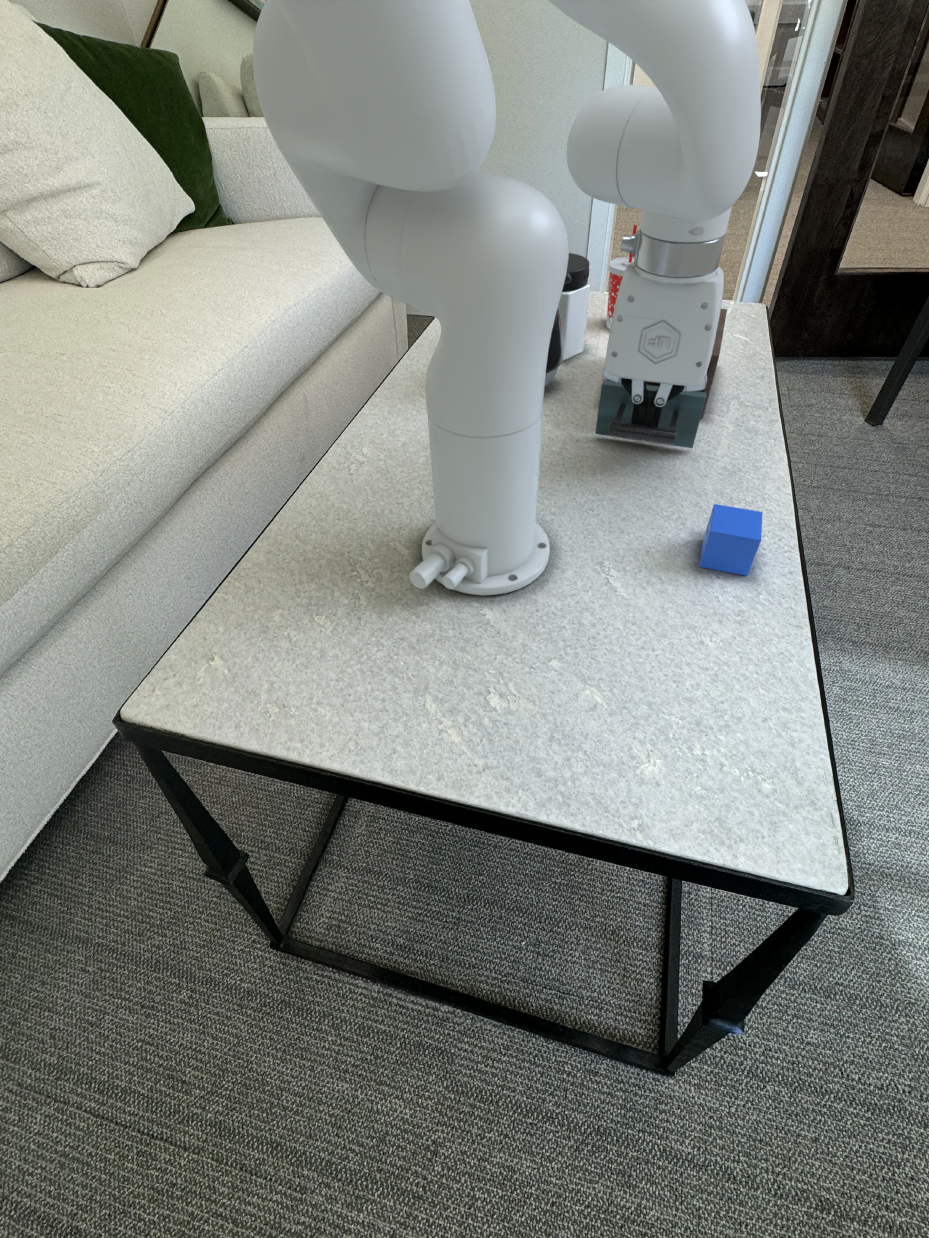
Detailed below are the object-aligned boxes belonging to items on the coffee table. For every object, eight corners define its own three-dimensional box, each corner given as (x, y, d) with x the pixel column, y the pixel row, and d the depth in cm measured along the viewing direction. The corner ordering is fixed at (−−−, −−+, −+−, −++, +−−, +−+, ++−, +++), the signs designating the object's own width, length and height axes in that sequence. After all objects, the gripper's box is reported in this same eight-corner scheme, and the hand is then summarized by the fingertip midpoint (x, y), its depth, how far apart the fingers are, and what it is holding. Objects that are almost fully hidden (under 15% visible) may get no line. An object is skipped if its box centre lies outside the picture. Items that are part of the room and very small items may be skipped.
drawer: (687, 476, 71) (700, 424, 66) (584, 460, 74) (591, 409, 69) (702, 395, 83) (715, 346, 79) (614, 383, 86) (621, 336, 82)
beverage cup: (627, 337, 98) (643, 234, 88) (593, 327, 101) (605, 226, 91) (647, 324, 102) (665, 223, 92) (614, 315, 104) (627, 216, 94)
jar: (589, 358, 94) (600, 269, 85) (536, 365, 93) (541, 275, 84) (569, 334, 100) (577, 248, 91) (519, 340, 99) (522, 254, 90)
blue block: (747, 576, 61) (761, 540, 57) (699, 567, 62) (710, 530, 59) (749, 547, 64) (762, 511, 60) (703, 539, 65) (714, 503, 61)
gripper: (589, 259, 59) (570, 439, 72) (762, 274, 55) (709, 461, 68) (604, 235, 63) (584, 408, 77) (764, 247, 60) (714, 426, 73)
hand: (643, 432), depth 72 cm, fingers closed
